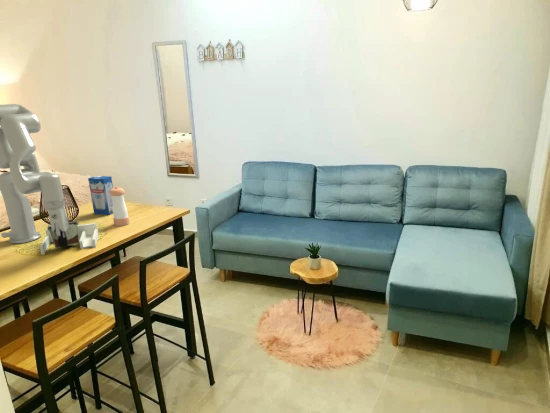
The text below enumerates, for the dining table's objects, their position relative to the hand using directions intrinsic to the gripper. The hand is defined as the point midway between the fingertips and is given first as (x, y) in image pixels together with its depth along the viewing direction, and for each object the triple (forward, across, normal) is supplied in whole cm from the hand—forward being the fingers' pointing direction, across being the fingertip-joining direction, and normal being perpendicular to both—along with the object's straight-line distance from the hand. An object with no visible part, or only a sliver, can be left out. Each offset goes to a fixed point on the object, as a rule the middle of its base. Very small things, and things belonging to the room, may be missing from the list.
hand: (63, 246), depth 171 cm
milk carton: (+1, +52, -13) cm, 54 cm away
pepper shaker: (+2, +28, -22) cm, 36 cm away
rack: (+2, +8, -2) cm, 8 cm away
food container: (+2, +4, 0) cm, 5 cm away
